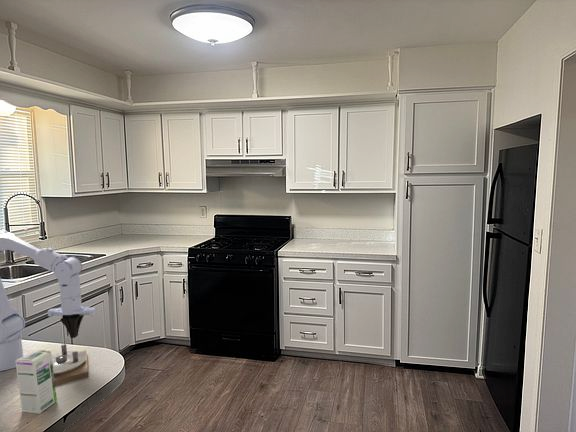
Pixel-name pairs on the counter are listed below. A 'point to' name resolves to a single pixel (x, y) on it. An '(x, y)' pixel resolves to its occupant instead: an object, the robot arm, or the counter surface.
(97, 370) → the counter surface
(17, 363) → the syrup box
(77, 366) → the capstan dial
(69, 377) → the tan base board
